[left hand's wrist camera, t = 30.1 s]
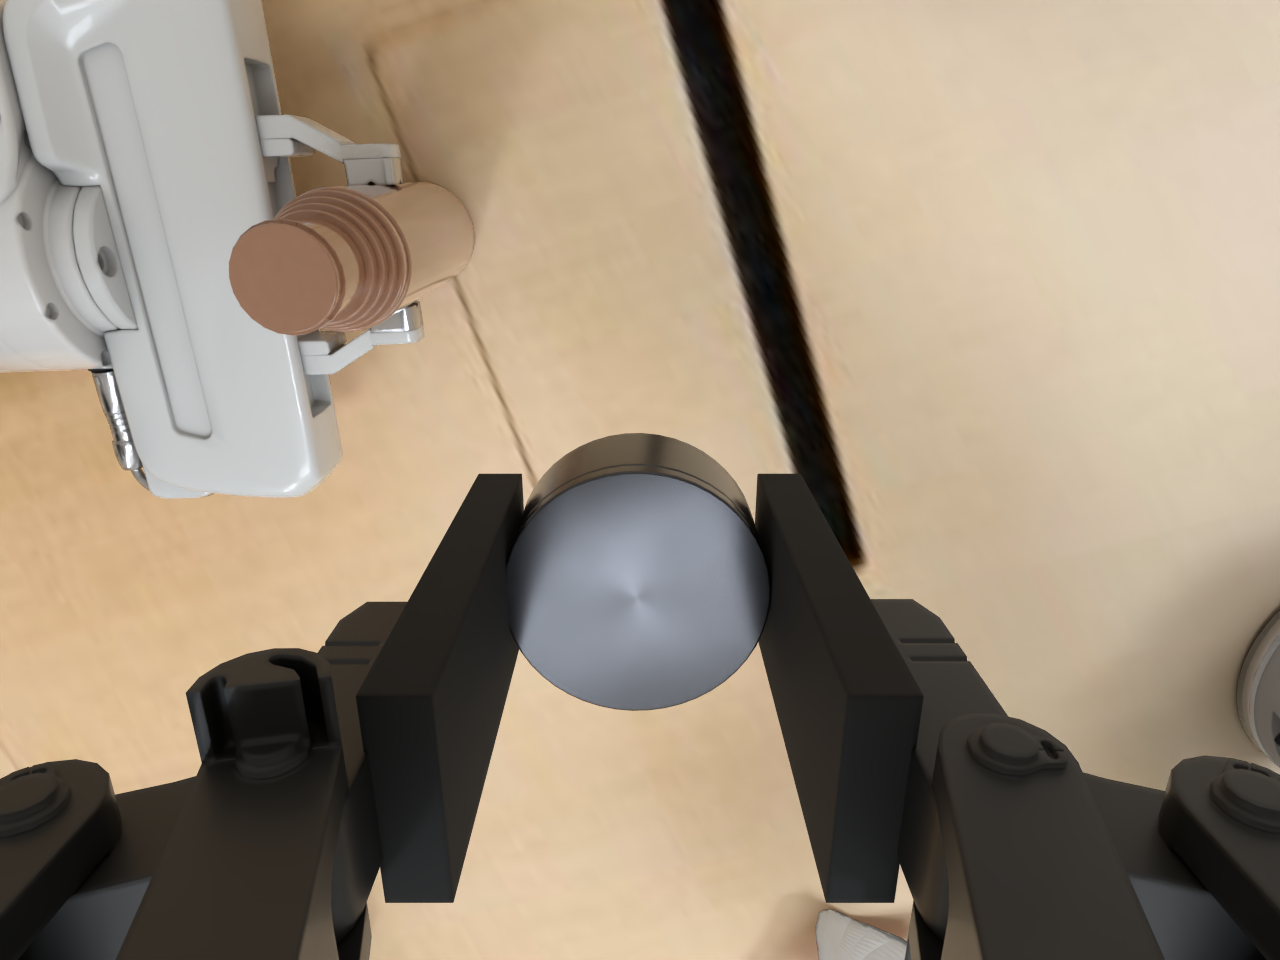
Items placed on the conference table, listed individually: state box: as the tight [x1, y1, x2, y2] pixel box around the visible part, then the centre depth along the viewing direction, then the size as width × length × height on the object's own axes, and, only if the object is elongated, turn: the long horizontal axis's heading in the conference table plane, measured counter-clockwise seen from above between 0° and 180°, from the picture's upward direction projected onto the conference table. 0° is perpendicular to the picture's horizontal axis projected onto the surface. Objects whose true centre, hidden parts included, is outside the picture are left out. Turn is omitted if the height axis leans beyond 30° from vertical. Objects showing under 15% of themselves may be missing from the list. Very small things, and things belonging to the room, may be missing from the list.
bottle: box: [229, 182, 474, 336], centre depth 30 cm, size 5×5×17 cm
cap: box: [506, 433, 771, 711], centre depth 13 cm, size 4×4×2 cm
